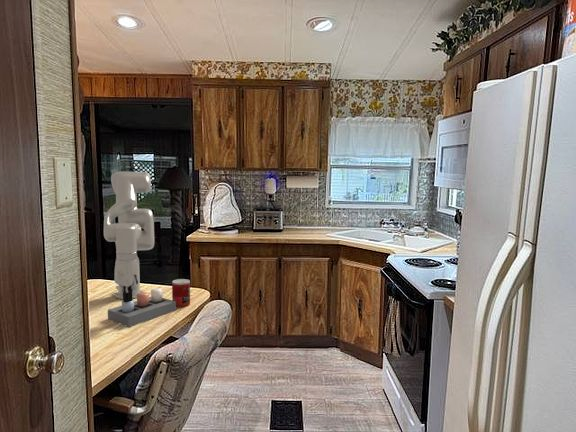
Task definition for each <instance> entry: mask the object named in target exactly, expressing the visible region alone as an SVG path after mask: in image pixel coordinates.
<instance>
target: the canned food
mask: <svg viewBox="0 0 576 432" xmlns="http://www.w3.org/2000/svg"><path fill="white" fill-rule="evenodd" d="M171 281H172V282H171V293H172V295H171V297H172V298H171V300H172V301H176V308H186V307H189V306H190V305H191V281H190V279H185V278H177V279H174V280H171Z"/></svg>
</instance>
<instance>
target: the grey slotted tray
mask: <svg viewBox="0 0 576 432" xmlns="http://www.w3.org/2000/svg"><path fill="white" fill-rule="evenodd" d="M176 311H177V307H176V301H172V299H169V298H165V297H162V301H158V302H153V301H151V296H149V304H148V305H146V306H138V305H137V300H134V311H133V312H130V313H127V314H125V313H122V305H119V306H115V307H112V308H109V309H107V320H109V321H112V322H114V323H116V324H119V325H122V326H124V327H127V328H130V327H133V326H136V325H139V324H142V323H145V322H147V321H150V320H154V319H156V318H158V317H161V316H164V315H167V314H170V313H172V312H176Z"/></svg>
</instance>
